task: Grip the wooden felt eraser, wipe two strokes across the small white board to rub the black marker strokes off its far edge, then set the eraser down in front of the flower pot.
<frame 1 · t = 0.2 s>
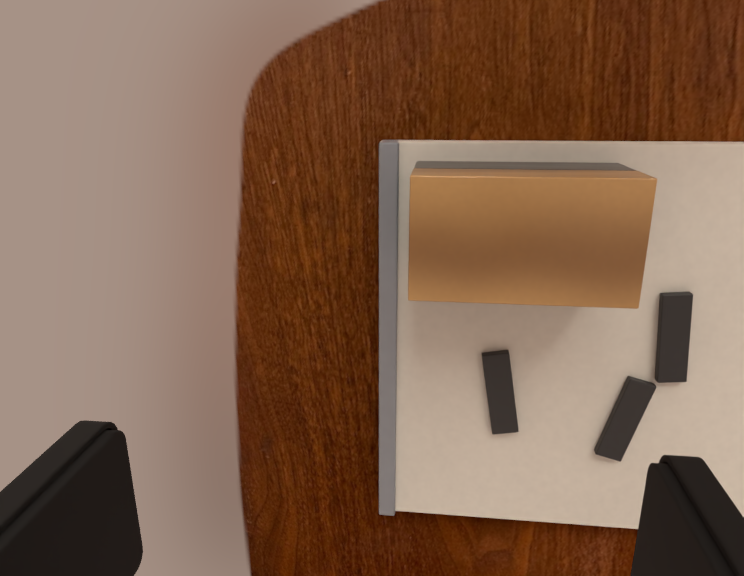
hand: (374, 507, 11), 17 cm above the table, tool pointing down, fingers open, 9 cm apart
eraser: (512, 216, 25), point 1 cm above the table, touching whiteboard
marker stroke 2: (623, 417, 27), point 1 cm above the table, touching whiteboard
marker stroke 3: (671, 336, 25), point 1 cm above the table, touching whiteboard
whiteboard: (590, 345, 27), on the table
marker stroke 1: (499, 390, 27), point 1 cm above the table, touching whiteboard
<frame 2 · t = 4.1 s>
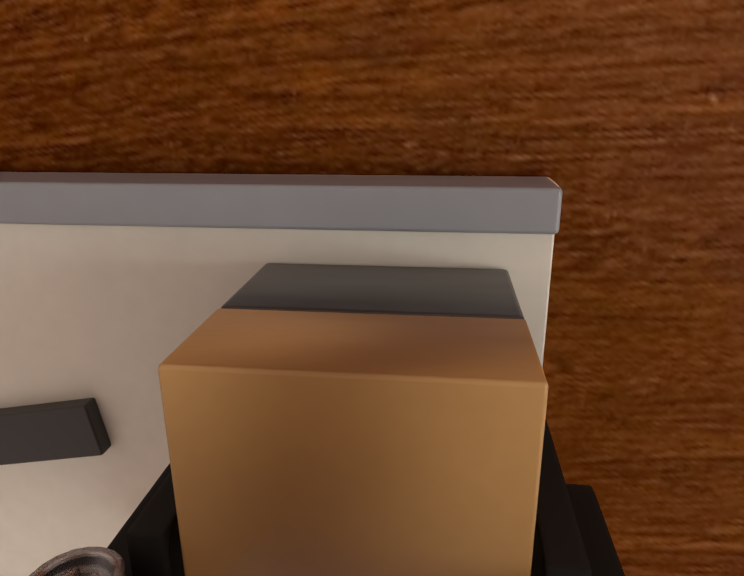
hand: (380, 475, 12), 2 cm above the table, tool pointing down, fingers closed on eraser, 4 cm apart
eraser: (384, 452, 12), point 1 cm above the table, touching gripper, whiteboard
whiteboard: (152, 552, 15), on the table
marker stroke 1: (22, 430, 13), point 1 cm above the table, touching whiteboard
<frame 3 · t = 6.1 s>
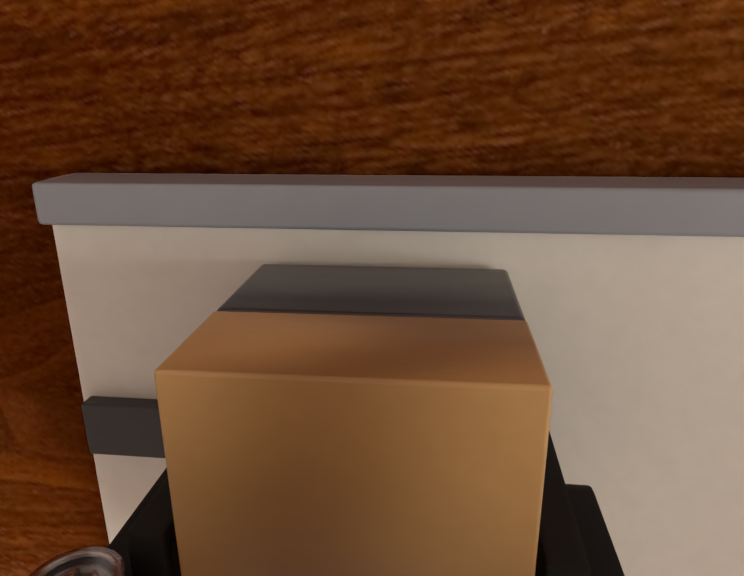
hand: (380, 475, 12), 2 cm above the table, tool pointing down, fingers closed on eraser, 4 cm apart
eraser: (382, 454, 12), point 1 cm above the table, touching gripper, marker stroke 1
marker stroke 1: (183, 424, 13), point 1 cm above the table, touching eraser, whiteboard
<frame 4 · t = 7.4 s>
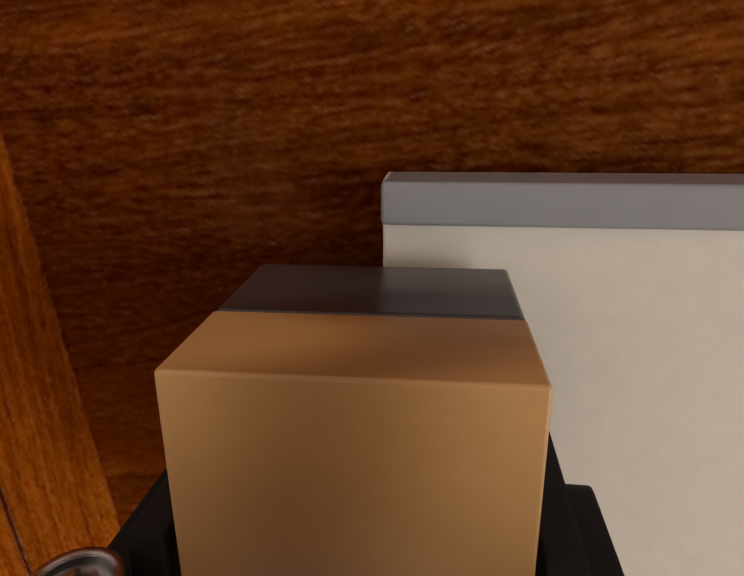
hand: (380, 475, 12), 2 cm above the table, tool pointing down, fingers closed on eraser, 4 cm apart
eraser: (382, 454, 12), point 2 cm above the table, touching gripper
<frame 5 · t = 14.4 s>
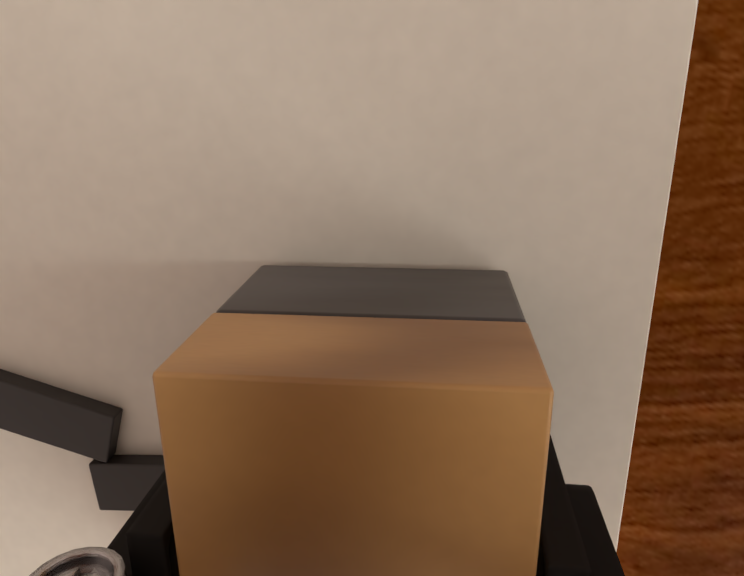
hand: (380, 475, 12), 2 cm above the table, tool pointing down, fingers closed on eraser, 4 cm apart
eraser: (382, 456, 12), point 1 cm above the table, touching gripper, marker stroke 3
marker stroke 2: (32, 402, 13), point 1 cm above the table, touching marker stroke 3, whiteboard
marker stroke 3: (188, 478, 13), point 1 cm above the table, touching eraser, marker stroke 2
whiteboard: (199, 334, 13), on the table
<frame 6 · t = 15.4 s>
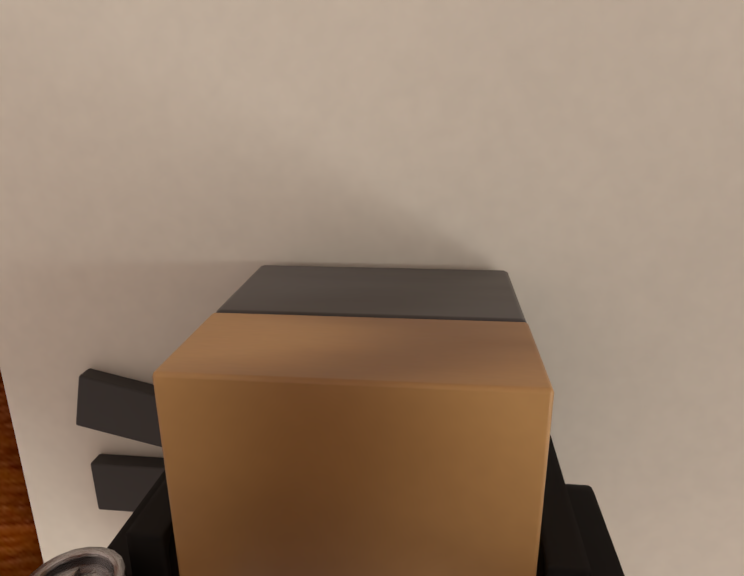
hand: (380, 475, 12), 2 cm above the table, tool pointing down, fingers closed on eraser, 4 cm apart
eraser: (382, 456, 12), point 1 cm above the table, touching gripper, marker stroke 2
marker stroke 2: (177, 415, 13), point 1 cm above the table, touching eraser
marker stroke 3: (189, 481, 13), point 1 cm above the table, touching whiteboard
whiteboard: (425, 344, 12), on the table
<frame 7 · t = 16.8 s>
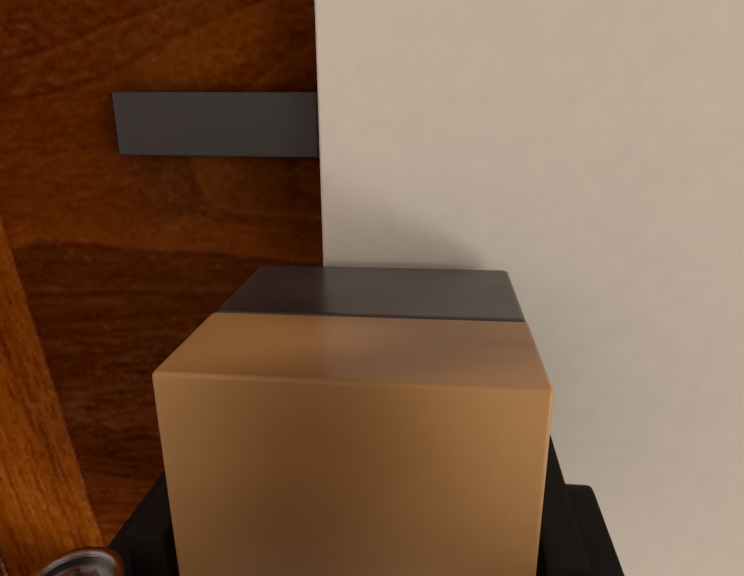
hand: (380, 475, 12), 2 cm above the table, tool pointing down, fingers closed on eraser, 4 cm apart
eraser: (382, 456, 12), point 1 cm above the table, touching gripper
marker stroke 1: (221, 123, 12), on the table
when the fingers open (1 cm above the table, at t = 24.6 s): eraser stays where it is, on the table.
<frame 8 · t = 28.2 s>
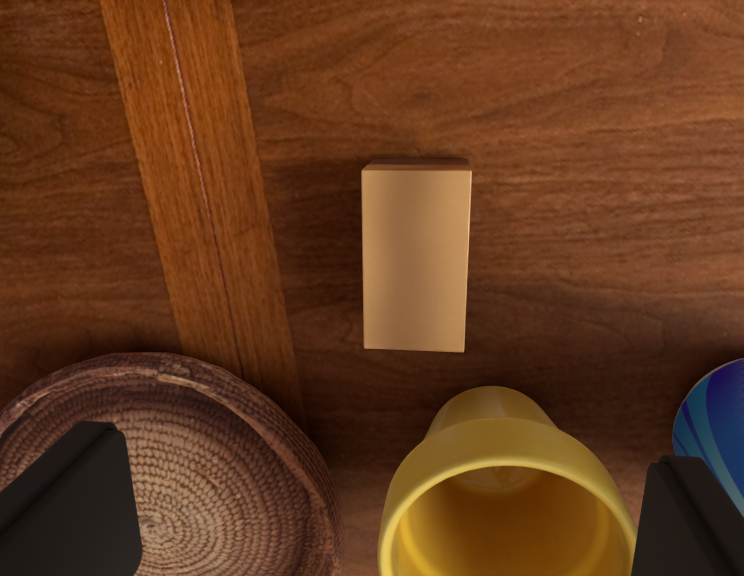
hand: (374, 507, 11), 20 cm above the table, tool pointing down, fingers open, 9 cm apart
eraser: (419, 240, 30), on the table
flower pot: (489, 434, 33), on the table
basket: (170, 488, 37), on the table
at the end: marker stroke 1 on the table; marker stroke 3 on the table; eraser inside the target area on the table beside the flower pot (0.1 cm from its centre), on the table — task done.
